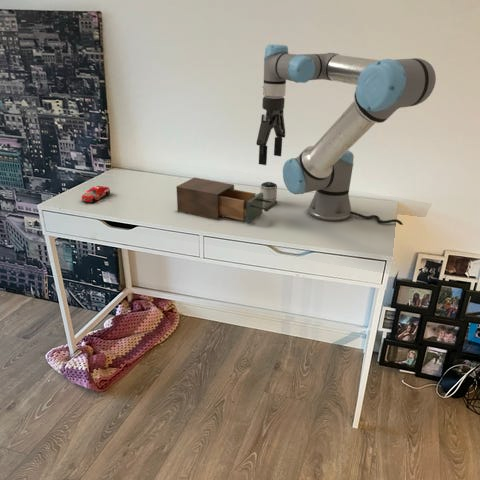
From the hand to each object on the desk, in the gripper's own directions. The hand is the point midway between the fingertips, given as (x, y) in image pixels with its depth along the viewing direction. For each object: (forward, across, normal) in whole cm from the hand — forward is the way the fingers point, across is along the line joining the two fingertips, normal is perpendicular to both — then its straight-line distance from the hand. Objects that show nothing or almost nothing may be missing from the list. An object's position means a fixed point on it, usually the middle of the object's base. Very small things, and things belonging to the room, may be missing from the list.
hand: (270, 160), depth 177 cm
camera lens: (+17, 0, 0) cm, 17 cm away
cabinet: (+16, +18, -17) cm, 30 cm away
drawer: (+16, +18, -1) cm, 24 cm away
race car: (+17, +28, -60) cm, 68 cm away
